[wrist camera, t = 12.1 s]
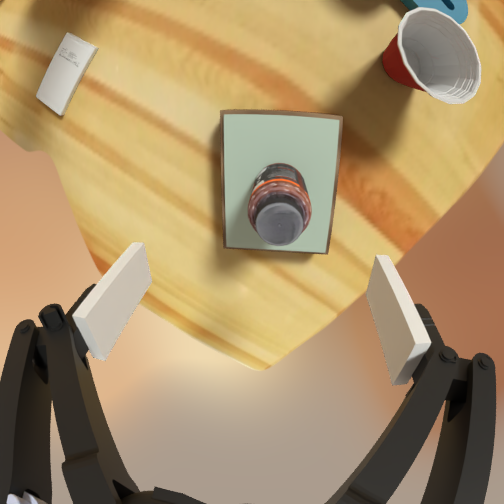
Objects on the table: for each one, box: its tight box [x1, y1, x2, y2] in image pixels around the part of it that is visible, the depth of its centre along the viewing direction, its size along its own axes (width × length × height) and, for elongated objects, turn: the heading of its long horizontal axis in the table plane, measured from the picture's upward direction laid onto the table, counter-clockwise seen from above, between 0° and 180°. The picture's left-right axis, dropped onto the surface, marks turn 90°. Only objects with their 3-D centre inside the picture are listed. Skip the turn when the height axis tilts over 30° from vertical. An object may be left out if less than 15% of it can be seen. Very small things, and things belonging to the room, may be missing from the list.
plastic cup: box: [382, 7, 481, 104], centre depth 22 cm, size 11×11×12 cm
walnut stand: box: [220, 110, 343, 254], centre depth 36 cm, size 18×14×5 cm
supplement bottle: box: [248, 163, 312, 246], centre depth 28 cm, size 6×6×11 cm
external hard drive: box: [36, 32, 99, 116], centre depth 31 cm, size 2×8×12 cm
